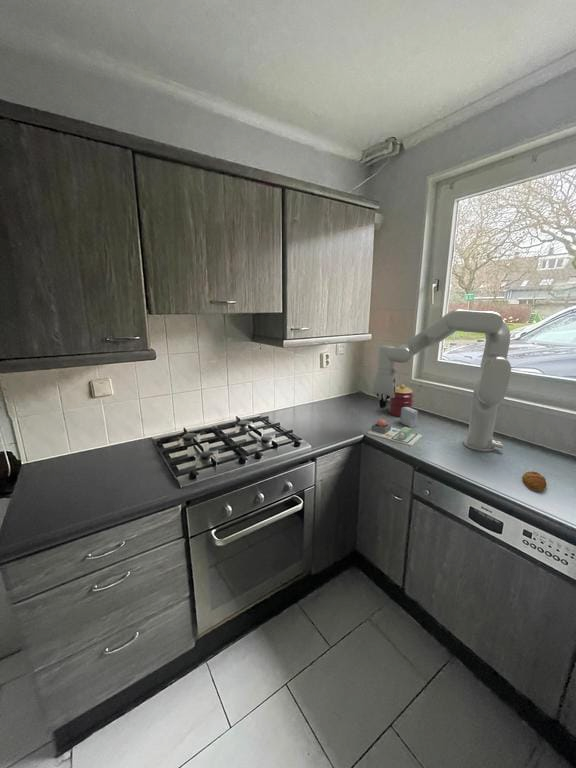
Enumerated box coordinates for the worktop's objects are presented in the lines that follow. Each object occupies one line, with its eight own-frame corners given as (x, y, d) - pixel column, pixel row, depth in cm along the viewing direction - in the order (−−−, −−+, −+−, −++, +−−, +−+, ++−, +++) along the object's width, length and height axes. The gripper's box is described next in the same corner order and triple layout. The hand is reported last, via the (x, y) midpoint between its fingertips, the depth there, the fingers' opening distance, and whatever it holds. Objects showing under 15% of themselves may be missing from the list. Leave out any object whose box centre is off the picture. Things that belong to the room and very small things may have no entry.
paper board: (422, 436, 154) (422, 429, 154) (411, 446, 144) (412, 439, 143) (379, 425, 168) (380, 419, 167) (367, 433, 158) (367, 427, 157)
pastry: (549, 495, 108) (551, 485, 107) (525, 490, 111) (526, 480, 110) (542, 482, 116) (544, 472, 115) (520, 477, 119) (522, 468, 118)
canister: (383, 411, 189) (386, 383, 185) (400, 408, 194) (402, 380, 190) (399, 418, 178) (402, 388, 173) (416, 415, 183) (419, 385, 178)
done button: (387, 426, 160) (387, 420, 159) (383, 428, 157) (384, 422, 156) (379, 423, 163) (379, 418, 162) (375, 426, 160) (375, 420, 159)
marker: (411, 434, 155) (412, 427, 154) (404, 440, 148) (404, 433, 147) (404, 432, 158) (405, 426, 157) (397, 438, 150) (397, 431, 150)
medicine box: (416, 426, 167) (418, 411, 164) (410, 427, 165) (411, 412, 163) (406, 421, 174) (407, 406, 172) (399, 422, 172) (401, 407, 170)
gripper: (403, 372, 151) (400, 408, 155) (374, 368, 160) (372, 402, 165) (397, 375, 145) (394, 412, 150) (367, 370, 155) (365, 406, 159)
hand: (382, 407), depth 157 cm, fingers closed
